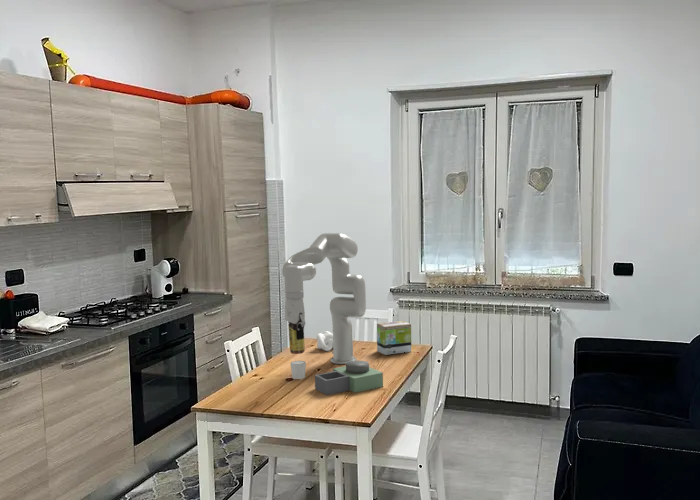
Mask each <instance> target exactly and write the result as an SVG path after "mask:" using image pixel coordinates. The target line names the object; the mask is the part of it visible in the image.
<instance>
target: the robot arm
mask: <svg viewBox="0 0 700 500" xmlns="http://www.w3.org/2000/svg"><path fill="white" fill-rule="evenodd" d="M358 250H359V249H358V244H357V242H356V241H355V240H354V239H353V238H351V237H349V236H348V235H346V234H344V233H337V232H336V233H331V232H328V233H327V232H326V233H321V234H320V235H318V236H317V238H315V240H314V241H313V243H311V245H310V246H309V247H308V248H304V249H303V250H301V251H299V252H295V254H292V255H291V256H290V257H289V258H288V259H287V260H286V261H285V263H284V264H283V267H282V270H281V271H282V272H281V273H282V276H283V278H284V291H285V292H284V293H285V294H284V295H285V301H284V302H285V305H284V312H285V313H284V317H285V321H287V323H288V325H289V322H291V323H293V324H296V327H297V330H296V336H297V340H300V339H304V340H305V325H306V314H305V304H304V299H305V297H304V295H305V294H304V282H305V281H311V280H314V278H315V277H316V274H317V268H316V265H318V264H321V263H322V262H324V261H325V259H326V258H327V259H328V261H329V263H330V265H331V266H330V267H331V284H332V290H333V293H335V294H338V295H349V296H335V297H333V298H331V300H330V302H329V310H330V315H331V322H332V323H331V325H332V333H333V348H332V351H331V354H333V355H332V356H333V357H331V358H330V362H331V363H332V364H334V365H335V364H336V365H346V363H347V362H350V361H357V357H355V356H354V345H353V343H354V342H353V338H354V337H353V324H352V322H351V320H350V318H361V317H363V316H365V313H366V309H367V304H366V303H367V301H366V300H367V299H366V297H367V296H366V295H367V294H366V283H365V282H366V281H365V279H364V277H363V276H362V275H360V274H351V273H350V272H351V271H350V263H349V261H348V259H353V258H354V257H356V256H357V253H358ZM350 295H352V296H353V297H352V296H350ZM298 321H301V322H298ZM298 324H300V325H298ZM288 325H287V326H288Z"/></svg>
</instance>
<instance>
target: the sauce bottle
mask: <svg viewBox="0 0 700 500" xmlns="http://www.w3.org/2000/svg"><path fill="white" fill-rule="evenodd" d="M298 322H301V321H298ZM298 325H300V324H298ZM287 326H288V342H289V351H290V353H291V354H293V355H301V354H303V353H304V352H305V350H306V349H305V338H304V339H300V340H297V336H296V330H297V327H296V324H293V323H291V322H289V325H287Z"/></svg>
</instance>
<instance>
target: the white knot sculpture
mask: <svg viewBox="0 0 700 500" xmlns="http://www.w3.org/2000/svg"><path fill="white" fill-rule="evenodd" d="M316 342H317V343H316V347H317V349H319V350H323V351H324V352H330V351H331V350H333V332H330V331H328V330H326V331H323V332H322V333H321V332H320V333H319V332H318V334H316Z"/></svg>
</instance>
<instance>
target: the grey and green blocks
mask: <svg viewBox="0 0 700 500" xmlns="http://www.w3.org/2000/svg"><path fill="white" fill-rule="evenodd" d="M383 387H384V372H382V371H381V370H378V369H376V368H372V367H370V363H369V362H368V361H366V360H356V361H350V362H347V363H346V364H345V366H339V367H335V368H332V371H328V372H324V373H317V374H315V375H314V388H315V390H316V391H319V392H320V393H322V394H323V393H324V395H325V396H330V395H333V394H339V393H344V392H348V391H351V392H352V393H354V394H355V393H359V392H364V391H369V390H370V391H371V390H373V389H379V388H383Z"/></svg>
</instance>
